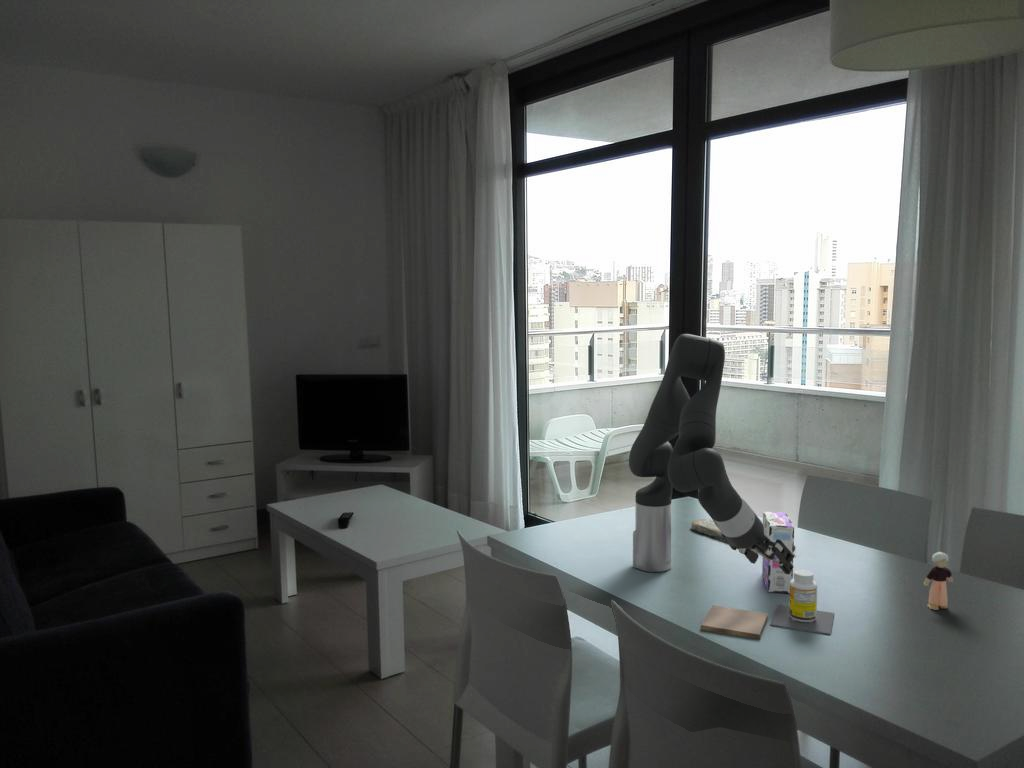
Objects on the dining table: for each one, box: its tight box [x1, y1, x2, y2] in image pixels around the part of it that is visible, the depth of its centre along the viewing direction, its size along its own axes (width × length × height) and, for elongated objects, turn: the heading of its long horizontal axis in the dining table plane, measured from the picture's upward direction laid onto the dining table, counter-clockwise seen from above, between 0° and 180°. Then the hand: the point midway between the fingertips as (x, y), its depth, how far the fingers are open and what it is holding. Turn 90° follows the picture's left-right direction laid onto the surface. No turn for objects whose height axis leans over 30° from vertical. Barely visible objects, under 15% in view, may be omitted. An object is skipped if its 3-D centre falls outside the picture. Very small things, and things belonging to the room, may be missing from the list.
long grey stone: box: [691, 518, 797, 553], centre depth 229 cm, size 35×5×10 cm
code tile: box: [769, 604, 835, 636], centre depth 172 cm, size 12×12×1 cm
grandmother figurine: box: [922, 551, 954, 611], centre depth 178 cm, size 8×4×13 cm, turn 117°
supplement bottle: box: [789, 569, 818, 622], centre depth 171 cm, size 6×6×10 cm
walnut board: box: [700, 605, 769, 640], centre depth 170 cm, size 12×12×1 cm
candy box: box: [761, 511, 795, 594], centre depth 193 cm, size 14×6×16 cm, turn 168°
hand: (772, 565), depth 164 cm, fingers open, 8 cm apart
